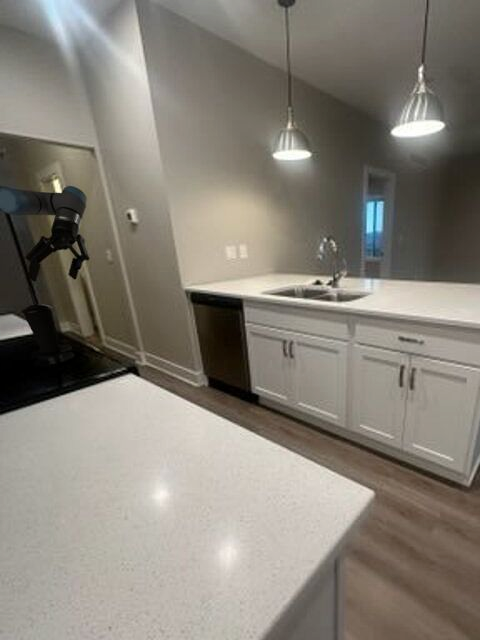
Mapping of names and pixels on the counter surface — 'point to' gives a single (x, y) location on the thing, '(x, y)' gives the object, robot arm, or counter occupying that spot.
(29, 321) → the drinking cup
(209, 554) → the counter surface
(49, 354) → the stand
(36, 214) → the robot arm
